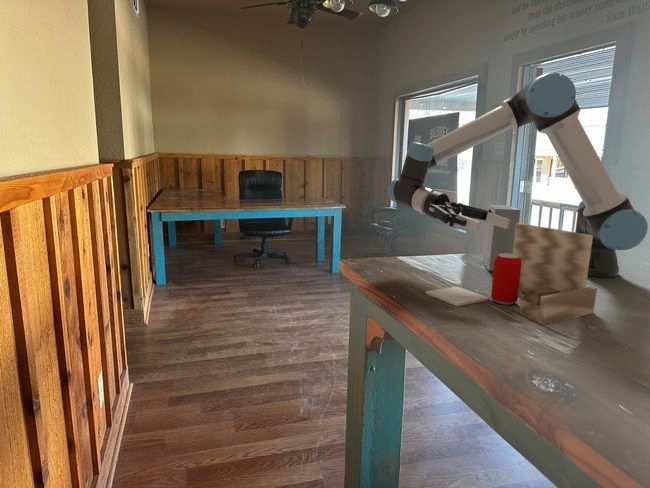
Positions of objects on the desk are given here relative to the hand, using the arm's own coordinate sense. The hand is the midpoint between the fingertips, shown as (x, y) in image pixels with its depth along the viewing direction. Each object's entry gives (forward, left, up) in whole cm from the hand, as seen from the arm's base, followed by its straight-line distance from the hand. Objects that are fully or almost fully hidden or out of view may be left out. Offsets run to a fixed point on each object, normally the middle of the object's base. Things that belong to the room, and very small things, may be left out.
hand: (493, 225), depth 117 cm
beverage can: (0, +8, -18) cm, 20 cm away
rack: (-5, +10, -18) cm, 21 cm away
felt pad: (+10, +3, -18) cm, 21 cm away
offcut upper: (-3, +18, -15) cm, 23 cm away
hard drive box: (-18, -27, -18) cm, 37 cm away
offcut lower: (-3, +18, -18) cm, 26 cm away
